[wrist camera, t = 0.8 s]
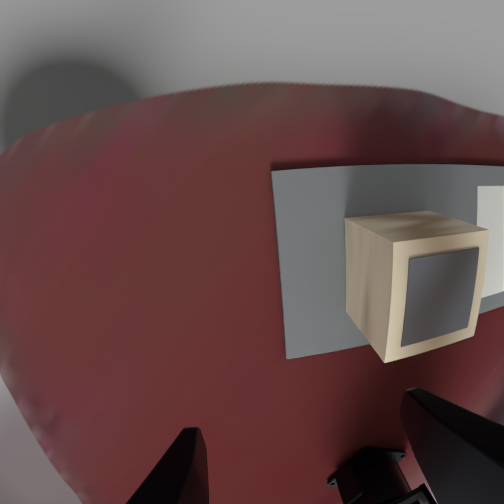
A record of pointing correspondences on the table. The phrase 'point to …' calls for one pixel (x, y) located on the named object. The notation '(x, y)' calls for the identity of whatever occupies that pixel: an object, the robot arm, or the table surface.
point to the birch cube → (414, 280)
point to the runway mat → (367, 204)
